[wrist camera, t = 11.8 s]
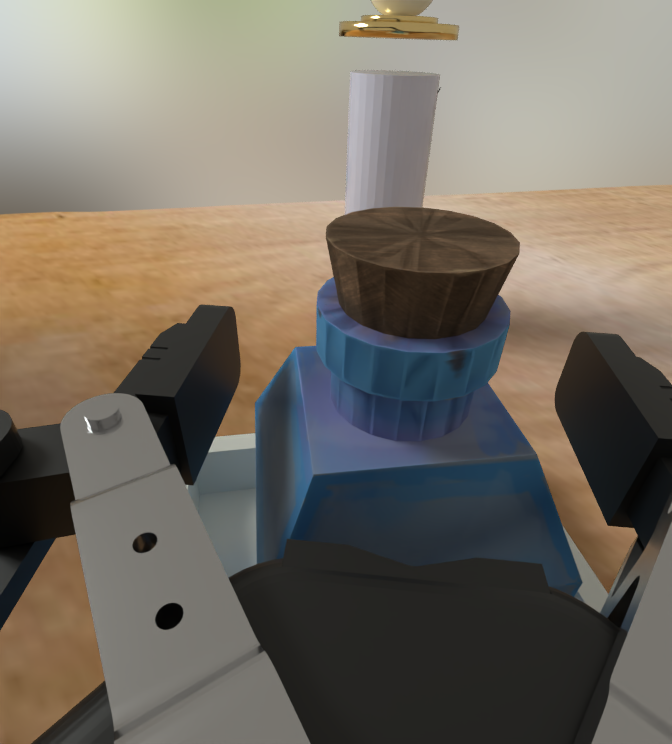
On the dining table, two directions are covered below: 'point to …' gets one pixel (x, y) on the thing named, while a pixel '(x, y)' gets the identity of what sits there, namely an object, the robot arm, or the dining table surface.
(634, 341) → the dining table surface
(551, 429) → the dining table surface
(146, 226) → the dining table surface
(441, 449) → the perfume bottle
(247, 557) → the dish
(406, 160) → the perfume bottle
